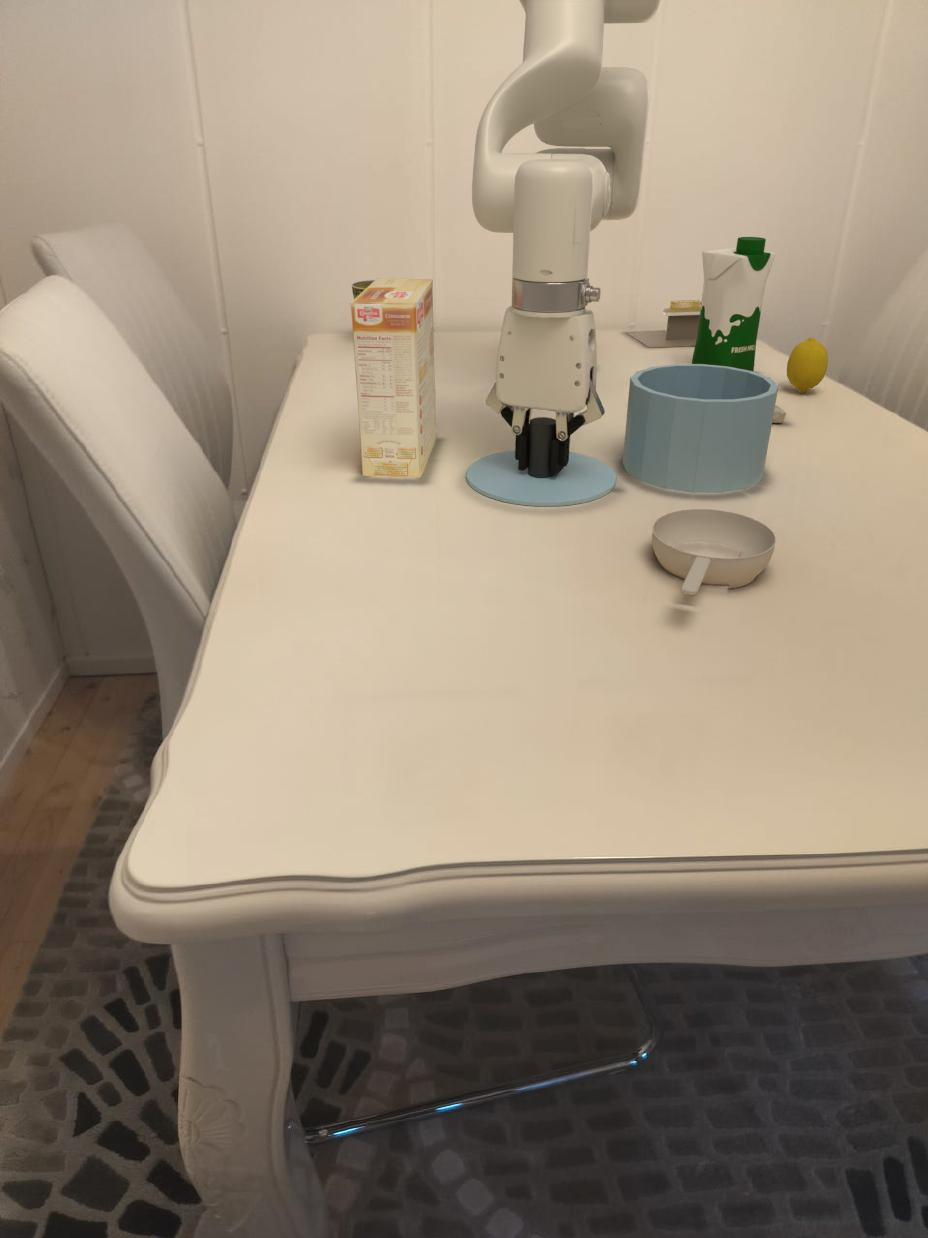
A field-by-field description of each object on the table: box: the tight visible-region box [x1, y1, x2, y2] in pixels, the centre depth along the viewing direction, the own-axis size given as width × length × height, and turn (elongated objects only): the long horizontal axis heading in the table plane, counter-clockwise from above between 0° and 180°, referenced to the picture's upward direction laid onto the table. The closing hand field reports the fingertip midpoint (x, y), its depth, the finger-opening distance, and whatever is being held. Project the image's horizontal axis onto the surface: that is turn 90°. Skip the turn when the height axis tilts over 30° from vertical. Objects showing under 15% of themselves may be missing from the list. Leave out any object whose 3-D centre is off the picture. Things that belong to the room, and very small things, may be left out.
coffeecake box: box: [349, 277, 437, 479], centre depth 102 cm, size 15×7×20 cm, turn 174°
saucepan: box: [651, 508, 777, 596], centre depth 77 cm, size 11×18×4 cm, turn 157°
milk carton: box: [690, 236, 776, 372], centre depth 137 cm, size 9×9×20 cm
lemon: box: [786, 337, 829, 394], centre depth 130 cm, size 6×6×8 cm
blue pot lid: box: [466, 416, 617, 507], centre depth 98 cm, size 17×17×7 cm
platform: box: [627, 299, 701, 348], centre depth 162 cm, size 12×18×7 cm, turn 100°
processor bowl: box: [622, 363, 780, 494], centre depth 100 cm, size 16×16×10 cm
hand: (541, 467), depth 99 cm, fingers closed on blue pot lid, 3 cm apart
